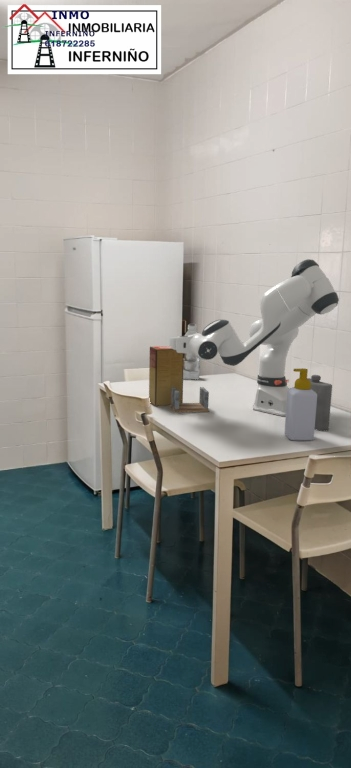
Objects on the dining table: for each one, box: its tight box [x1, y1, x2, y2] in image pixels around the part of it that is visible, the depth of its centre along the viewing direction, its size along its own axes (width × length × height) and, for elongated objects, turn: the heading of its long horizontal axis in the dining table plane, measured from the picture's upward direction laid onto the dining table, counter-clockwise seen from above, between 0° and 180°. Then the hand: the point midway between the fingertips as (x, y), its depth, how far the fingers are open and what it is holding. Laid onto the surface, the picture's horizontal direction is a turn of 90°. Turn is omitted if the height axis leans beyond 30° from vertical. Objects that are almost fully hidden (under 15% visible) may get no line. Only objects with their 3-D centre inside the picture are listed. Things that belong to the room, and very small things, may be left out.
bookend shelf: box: [169, 386, 210, 413], centre depth 242 cm, size 10×14×8 cm
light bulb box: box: [183, 358, 201, 381], centre depth 310 cm, size 11×7×11 cm, turn 84°
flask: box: [307, 374, 333, 432], centre depth 220 cm, size 15×6×20 cm, turn 25°
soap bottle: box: [284, 368, 317, 442], centre depth 204 cm, size 9×9×25 cm
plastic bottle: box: [183, 323, 198, 372], centre depth 238 cm, size 6×7×20 cm
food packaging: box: [148, 345, 185, 407], centre depth 250 cm, size 13×9×25 cm
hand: (191, 340), depth 238 cm, fingers closed on plastic bottle, 6 cm apart
